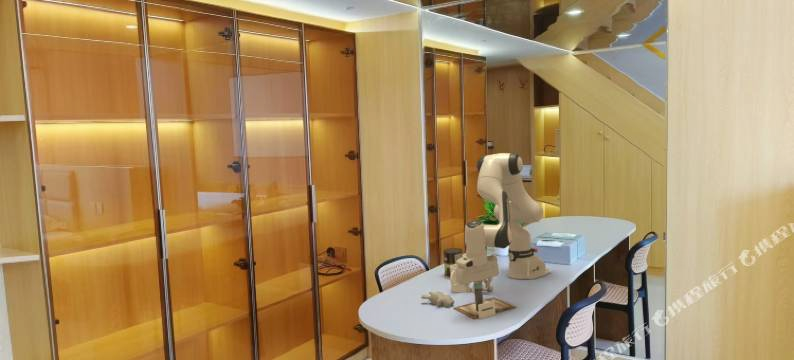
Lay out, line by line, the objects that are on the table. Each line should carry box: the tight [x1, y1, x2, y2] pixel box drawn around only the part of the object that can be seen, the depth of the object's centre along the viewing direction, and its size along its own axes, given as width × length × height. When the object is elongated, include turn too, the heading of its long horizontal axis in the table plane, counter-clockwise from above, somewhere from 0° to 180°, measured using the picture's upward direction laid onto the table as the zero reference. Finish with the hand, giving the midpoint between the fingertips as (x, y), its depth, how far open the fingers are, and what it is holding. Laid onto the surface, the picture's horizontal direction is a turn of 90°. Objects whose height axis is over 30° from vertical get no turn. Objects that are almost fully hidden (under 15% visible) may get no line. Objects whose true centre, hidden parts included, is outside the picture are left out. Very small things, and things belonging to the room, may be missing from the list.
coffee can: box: [442, 247, 464, 280], centre depth 289 cm, size 10×10×14 cm
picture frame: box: [453, 297, 517, 320], centre depth 238 cm, size 22×16×1 cm
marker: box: [473, 282, 484, 312], centre depth 234 cm, size 3×3×12 cm
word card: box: [478, 301, 496, 320], centre depth 228 cm, size 8×1×6 cm, turn 116°
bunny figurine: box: [420, 291, 455, 308], centre depth 248 cm, size 10×5×15 cm
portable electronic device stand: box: [471, 279, 494, 294], centre depth 261 cm, size 9×8×8 cm
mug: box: [449, 264, 467, 294], centre depth 264 cm, size 12×8×12 cm
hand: (478, 290), depth 234 cm, fingers open, 8 cm apart
